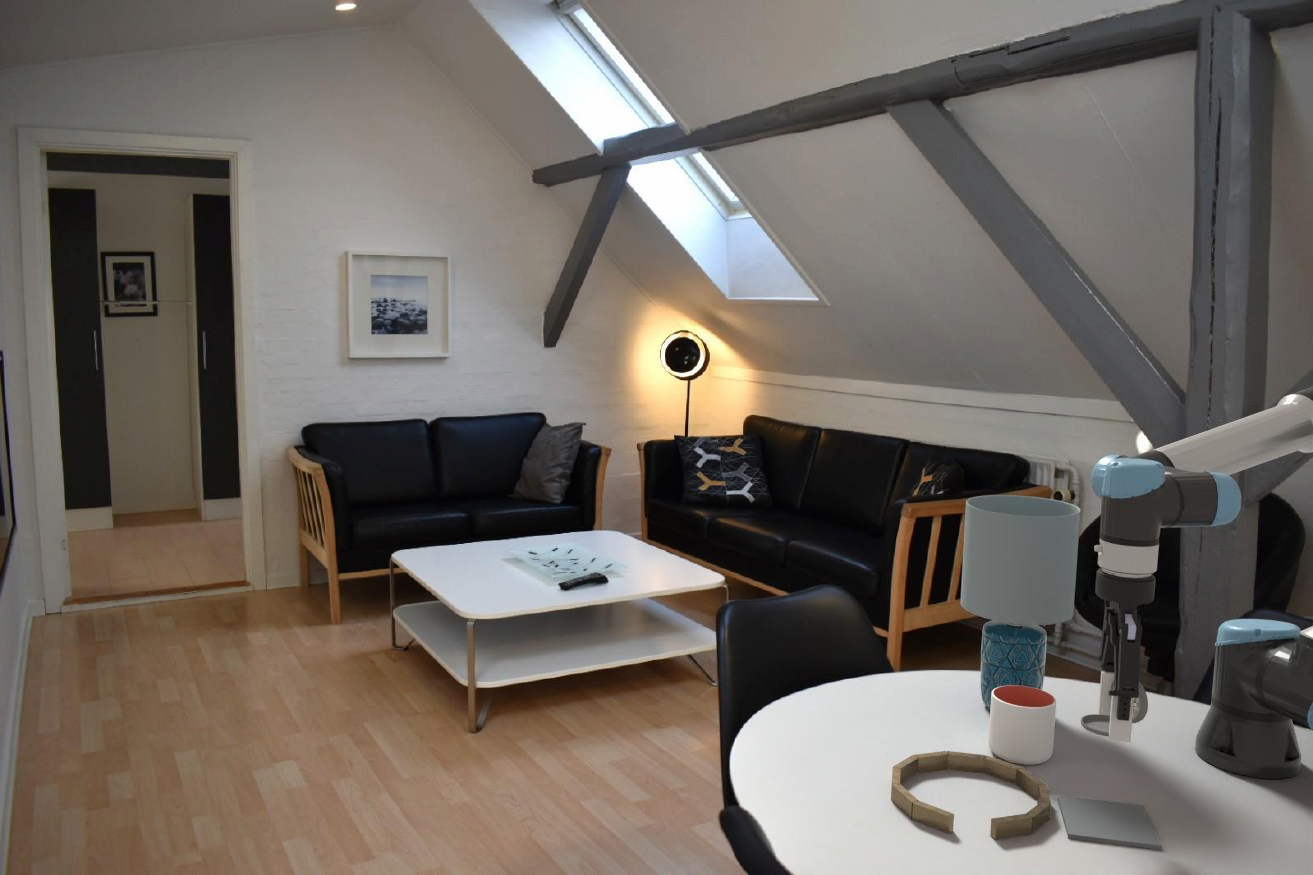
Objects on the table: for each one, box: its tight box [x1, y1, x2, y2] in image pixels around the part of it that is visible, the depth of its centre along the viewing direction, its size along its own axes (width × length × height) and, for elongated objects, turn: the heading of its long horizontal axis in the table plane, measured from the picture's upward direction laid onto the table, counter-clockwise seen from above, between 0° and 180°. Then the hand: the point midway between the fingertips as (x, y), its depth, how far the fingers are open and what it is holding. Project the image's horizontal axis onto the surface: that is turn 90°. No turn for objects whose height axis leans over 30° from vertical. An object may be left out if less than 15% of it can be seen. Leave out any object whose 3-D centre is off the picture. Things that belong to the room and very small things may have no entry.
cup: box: [988, 685, 1057, 766], centre depth 174 cm, size 10×10×10 cm
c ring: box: [890, 750, 1052, 840], centre depth 158 cm, size 22×22×2 cm
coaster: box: [1056, 794, 1163, 851], centre depth 152 cm, size 12×12×1 cm
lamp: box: [960, 494, 1081, 710], centre depth 191 cm, size 19×19×38 cm
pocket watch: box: [1080, 681, 1149, 737], centre depth 149 cm, size 8×8×10 cm
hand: (1113, 727), depth 150 cm, fingers closed on pocket watch, 8 cm apart
